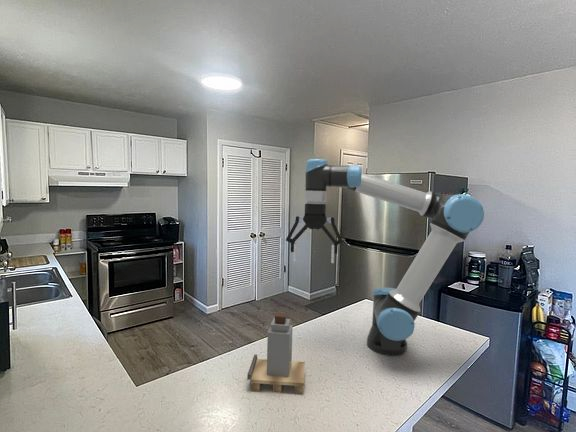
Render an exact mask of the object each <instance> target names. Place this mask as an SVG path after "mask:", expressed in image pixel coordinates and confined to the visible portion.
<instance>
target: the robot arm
mask: <svg viewBox="0 0 576 432" xmlns="http://www.w3.org/2000/svg"><path fill="white" fill-rule="evenodd" d="M305 166H306V168H305V184H304V186H305V189H304V191H305V192H304V193H305V194H304V195H305V196H304V202H306V203H305V204H304V214H303V215H304V216H300V215H296V216H295V220H294V221H295V222H294V224H293V225H292V228H291V229H290V231H289V233H288V235H287V236H286V238H285V241H286V242H288V243H290V252H291V253H293V263H295V262H296V261H297V242H296V241H297V240H298V239H299V238H300V237H301V236H302V235H303V233H304V232H305V231H306V230H307V229H310V230H320V229H321V230H322V231H323V232H324V233H325V234H326V236H327V237H328V238H329V239H330V241H331V242H332V244H331V252H330V253H331V254H330V255H331V256H330V257H331V258H330V263H331V264H334V263H335V255H336V254H338V245H340V244H342V243H344V241H343V238H342V237H341V234H340V232H339V230H338V228H337V226H336V223H335V222H336V221H335V218H334V216H330V217H327V215H326V214H327V213H326V212H327V211H326V210H327V205H326V204H325V203H327V187H329V188H333V187H334V188H336V187H337V188H342V189H346V190H349V191H352V192H356V193H359V194H362V195H365V196H368V197H371V198H375V199H377V200H380V201H384V202H387V203H390V204H393V205H395V206H399V207H403V208H406V209H408V210H412V211H415V212H418V213H419V215H420V216H421V217H425V218H427V219H429V220H431V221H430V223H429V225H430V227H431V228H430V229H431V231H430V233H429V235H428V236H427V237H426V239H425V241H424V243H423V244H422V246H421V248H420V249H419V251H418V253H417V254H416V256H415V257H414V259H413V261H412V262H411V264H410V266H409V267H408V269H407V270H406V273H405V274H403V277H402V279H401V280H400V282H399V284H398V286H397V287H396V288H393V287H383V286H382V287H376V288H375V289H374V290H373V294H372V296H373V299H372V300H373V301H372V302H373V303H372V304H373V305H372V322H371V324H372V325H371V327H370V330H369V332H368V334H367V337H366V345H367V347H368V348H369V349H370V350H372V351H374V352H376V353H379V354H381V355H385V356H400V355H403V354H405V353H406V352H407V350H408V343H407V339H408V338H410V337H411V336H412V335H413V333H414V331H415V325H416V324H415V320H416V319H417V317H418V316H419V314H420V312H421V308H420V304H421V301H422V299H423V298H424V297H425V295H426V293H427V292H428V290H429V289H430V287H431V285H432V283H433V282H434V280H435V278H437V275H438V274H439V273H440V271H441V270H442V268H443V266H444V264H445V262H446V261H447V260H448V258H449V256H450V255H451V253H452V252H453V250H454V248H455V247H456V245H457V244H459V243H462V242H465V241H466V239H467V237H468V236H469V234H470V233H471V232H474V231H475V230H477V229H478V228H479V227H480V226H481V225H482V223H483V221H484V218H485V210H484V208H483V205H482V203H481V202H480V201H479V200H478V199H477V198H475V197H474V196H471V195H468V194H463V193H459V194H446V193H437V192H433V191H430V190H429V191H427V192H424V191H421V190H418V189H415V188H411V187H408V186H405V185H401V184H399V183H395V182H393V181H389V180H387V179H383V178H378V177H376V176H373V175H369V174H365V173H363V171H362V170H363V168H362V167H361V166H360V165H352V164H350V165H331V164H329V163H328V160H327V159H325V158H324V159H323V158H310V159H308V160H307V161H306V165H305ZM302 221H303V222H304V225H303V227H302V228H301V229H300V230H299V231H298V232H297V233H296V234H295V235H294V237H292V236H293V234H294V233H295V230H296V229H297V227H298V225H299V223H301V222H302ZM327 222H328V223H329V224H330V225H331V228H332V229H333V232H334V235H335V236H336V238H337V239H335V237H334V236H333V235H332V233H331V232H330V231H329V229H328V228H327V227H326V226H325V224H326V223H327Z"/></svg>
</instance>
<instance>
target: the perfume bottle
mask: <svg viewBox="0 0 576 432" xmlns="http://www.w3.org/2000/svg"><path fill="white" fill-rule="evenodd" d="M287 314H288V313H287V312H286V313H285V312H276V313H275V315H274V317H273V319H272V321H271V323H270V327H269V329H268V330H267V336H266V337H267V338H266V339H267V340H266V341H267V342H266V343H267V344H266V345H267V348H266V349H267V350H266V352H267V353H266V360H267V375H270V376H279V377H289V373H290V369H291V364H292V361H293V360H292V358H293V325H292V324H290V323H291V318H287Z"/></svg>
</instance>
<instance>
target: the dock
mask: <svg viewBox="0 0 576 432" xmlns="http://www.w3.org/2000/svg"><path fill="white" fill-rule="evenodd" d="M305 370H306V362H305V361H297V360H296V361H295V360H292V364H291V369H290V373H289V377H279V376H270V375H267V358H266V359H264V358H258V354H254V355H253V357H252V360H251V363H250V366H249V369H248V371H247V380H249V381H250V383H251V388H250V389H251V391H250V392H260V390H261V387H262V384H263V385H272V392H273V393H278V394H282V389H283V386H293V387H294V394H295V395H304V387H305Z"/></svg>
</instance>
